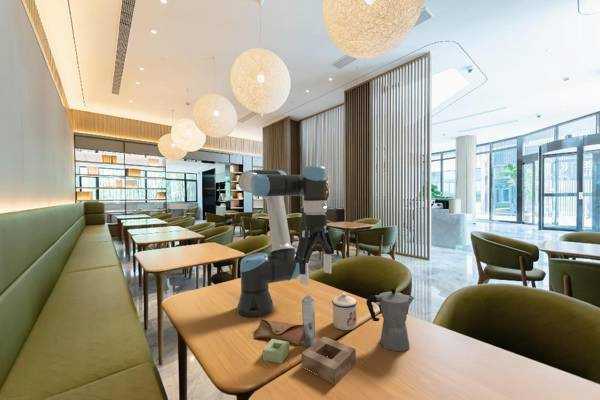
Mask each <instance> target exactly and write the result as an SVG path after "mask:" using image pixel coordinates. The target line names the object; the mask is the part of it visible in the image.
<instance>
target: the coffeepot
mask: <svg viewBox="0 0 600 400" xmlns="http://www.w3.org/2000/svg"><path fill="white" fill-rule="evenodd" d="M396 291H397V288H396V287H390V291H385V292H380V293H379V294H378V295H377V294H376V295H370V296H369V297H368V298H367V299H366V302H365V303H366V306H367V308H368V312H369V313H370V314H369V315H370V317H371V319H372V321H373V322H379V321H380V318H379V317H376V312H375V310H374V305H373V303H374V302H375V303H379V305H380V311H381V316H382V319H383V321H382V326H381V327H382V328H381V335H380V344H381V345H382V346H383V347H384V348H385V349H387V350H390V351H391V352H399V353H401V352H405V351H408V350H409V349H410V340H409V335H408V334H409V333H408V328H407V323H406V321H407V316H408V310H409V309H408V308H409V307H410V306H411V303H412V301H414V300H415V298H414V297H413V296H412V295H408V294H404V293H401V292H396Z"/></svg>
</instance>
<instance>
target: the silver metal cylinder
mask: <svg viewBox="0 0 600 400" xmlns="http://www.w3.org/2000/svg"><path fill="white" fill-rule="evenodd" d="M301 311H302V312H301V313H302V316H301V318H302V325H303V342H302V344H303V346H304V347H305V348H309V347H310V346H312V345H313V344H314V343H316V315H315V313H316V312H315V299H314V298H313V297H312V296H311V295H306V296H304V297H303V299H302V300H301Z"/></svg>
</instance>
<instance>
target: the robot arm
mask: <svg viewBox="0 0 600 400" xmlns="http://www.w3.org/2000/svg"><path fill="white" fill-rule="evenodd" d="M327 179H328V177H327V169H326V167H325V166H323V165H309V166H308V165H307V166H305V167H303V170H302V174H286V172H285V171H284V170H279V169H250V170H247V171H244V172H242V173H241V174H240V175H239V177H238V180H237V183H238V187H239V188H240V190H242V191H243V192H245V193H250V194H252V195H253V197H261V198H262V199H264V200H265V201H266V207H267V208H266V209H267V215H268V223H269V231H270V238H271V247H272V248H271V250H270V251H269V255H268V253H266V252H255V253H254V252H253V253H252V254H248V255H246V256H244V257H243V258H242V259H241V260H240V266H239V267H240V268H239V271H240V296H239V300H238V302H237V308H236V309H237V311H238V312H237V314H238V313H239V314H238V315H239V316H241V317H244V318H256V317H264V316H265V315H267V314H270V313H271V312H272V311H273V310H274V301H273V299H272V296H271V294H270V291H269V284H273V283H279V282H286V281H291V280H295V279H297V278H300V279H299V282H300V283H299V284H302V285H305V286H309V284H310V281H309V280H310V279H309V274H310V273H309V272H310V271H309V262H308V260H309V258H310V255H311V253H312V251H313V247H314V246H315V245H316V243H317V244H318V243H319V244H320V246H321V248H322V250H323V252H324V253H323V254H322V255H323V273H326V274H332V255H334V254H335V251H336V248H335V243H334V242H333V238H332V235H331V229H330V226H328V215H327V214H326V213H327V212H328V211H327V210H328V208H327V206H328V203H327V200H328V199H327V191H328V189H327V182H328V181H327ZM295 196H296V197H302V196H303V213H305V214H304V215H303V224H304V226H305V227H306V230H300V233H299V234H300V236H299V240H298V245H297V248H296V249H295V247H294V246H292V243H291V238H290V236H291V235H290V230H289V224H288V218H287V212H286V206H285V199H284V198H285V197H295Z"/></svg>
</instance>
